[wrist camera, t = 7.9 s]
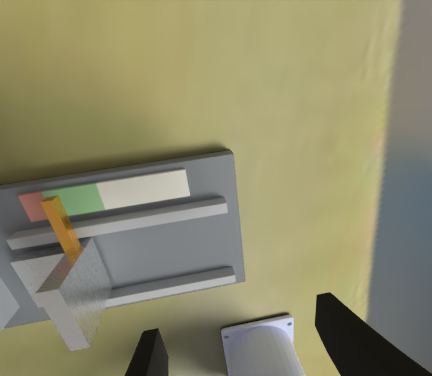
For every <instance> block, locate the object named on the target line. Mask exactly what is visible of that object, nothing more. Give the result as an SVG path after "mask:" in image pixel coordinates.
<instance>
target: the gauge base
mask: <svg viewBox="0 0 432 376" xmlns="http://www.w3.org/2000/svg"><path fill="white" fill-rule="evenodd" d="M58 195H59V197H60V199H61V202H62V204H63V206H64V208H65V211H66V213H67V215H68V217H69V220H70V222H71V224H72V226H73V229H74V231H75V233H76V235H77V238H78V240H79V239H84V238H90V237H92V238H93V241H94V243H95V246H96V248H97V251H98V253H99V255H100V258H101V260H102V263H103V265H104V267H105V270H106V272H107V275H108V277H109V280H110V282H111V284H112V287H113V288H112V290H111V293H110V296H109V298H108V301H107V304H106V307H105V309H106V308H112V307H117V306H122V305H127V304H132V303H137V302H143V301H148V300H153V299H158V298H163V297H168V296H173V295H179V294H184V293H189V292H194V291H199V290H204V289H210V288H215V287H220V286H225V285H230V284H235V283H240V282H245V271H244V260H243V249H242V238H241V228H240V217H239V206H238V195H237V185H236V174H235V163H234V154H233V152H232V151H231V150H227V151H221V152H214V153H207V154H201V155H194V156H188V157H181V158H175V159H168V160H162V161H155V162H148V163H142V164H135V165H129V166H122V167H116V168H109V169H103V170H96V171H90V172H83V173H76V174H70V175H63V176H57V177H50V178H44V179H37V180H31V181H24V182H17V183H11V184H4V185H0V332H1V331H2V329H3V328H9V327H14V326H19V325H24V324H29V323H34V322H39V321H45V320H50V317H49V315H48V314H47V312H46V310H45V309H44V307H39V308H38V307H37V305H36V303H35V302H34V300H33V299H32V297H31V295H30V294H29V292H28V291H27V289H26V287H25V286H24V284H23V283H22V281H21V279H20V278H19V276H18V275H17V273H16V271H15V270H14V268H13V267H12V265H11V263H10V262H11V261H12V260H13V259H14V258H16V257H17V256H18V255H19V254H20V253H24V252H30V251H36V250H42V249H47V248H53V247H59V246H61V244H60V242H59V240H58V238H57V236H56V234H55V232H54V230H53V227H52V225H51V223H50V221H49V219H48V217H47V215H46V213H45V211H44V209H43V207H42V205H41V203H40V202H41V201H43V200H44V199H45V198H47V197H51V196H58Z"/></svg>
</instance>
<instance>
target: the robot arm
mask: <svg viewBox="0 0 432 376" xmlns="http://www.w3.org/2000/svg"><path fill="white" fill-rule="evenodd" d="M315 327H316V329H317V331H318V333H319V336H320V338H321V340H322V342H323V344H324V346H325V348H326V351H327V352H328V354H329V356H330V358H331V359H332V361H333V363H334V365H335V366H336V368H337V370H338V372H339V373H340V375H341V376H432V373H430V372H429V371H427V370H426V369H425V368H423V367H422V366H420V365H419V364H418V363H416V362H415V361H414V360H412V359H411V358H409V357H408V356H407V355H406V354H404V353H403V352H401V351H400V350H399V349H398V348H396V347H395V346H394V345H392V344H391V343H390V342H389V341H387V340H386V339H385V338H383V337H382V336H381V335H380V334H379V333H377V332H376V331H375V330H374V329H372V328H371V327H370V326H369V325H368V324H366V323H365V322H364V321H363V320H362V319H360V318H359V317H358V316H357V315H356V314H354V313H353V312H352V311H351V310H350V309H349V308H348V307H346V306H345V305H344V304H343V303H342V302H341V301H339V300H338V299H337V298H336V297H335V296H334V295H333V294H331V293H330V292H329V293H324V294H319V295H317V301H316V315H315ZM293 330H294V319H293V317H292V315H285V316H280V317H275V318H270V319H265V320H260V321H256V322H251V323H246V324H241V325H236V326H232V327H227V328H223V329H222V330H221V336H222V342H223V348H224V353H225V359H226V365H227V371H228V376H306V375H305V372H304V370H303V368H302V365H301V363H300V361H299V358H298V356H297V354H296V351H295V349H294V347H293ZM125 376H168V355H167V352H166V349H165V346H164V343H163V341H162V338H161V335H160V332H159V329H158V328H157V329H152V330H147V331H144V332H143V333H142V335H141V338H140V340H139V343H138V345H137V348H136V350H135V353H134V355H133V358H132V360H131V362H130V365H129V367H128V369H127V371H126V374H125Z"/></svg>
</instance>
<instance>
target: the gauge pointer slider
mask: <svg viewBox="0 0 432 376" xmlns="http://www.w3.org/2000/svg"><path fill="white" fill-rule="evenodd" d="M40 203H41V205H42V207H43V209H44V211H45V213H46V215H47V217H48V219H49V221H50V223H51V225H52V227H53V230H54V232H55V234H56V236H57V238H58V240H59V242H60V244H61V246H59V247H53V248H47V249H42V250H36V251H30V252H24V253H20V254H19V255H18V256H17V257H16V258H14V259H13V260H12V261H11V262H10V263H11V265H12V267H13V268H14V270H15V271H16V273H17V275H18V276H19V278H20V279H21V281H22V283H23V284H24V286H25V287H26V289H27V291H28V292H29V294H30V295H31V297H32V299H33V300H34V302H35V303H36V305H37V307H38V308H39V307H44V309H45V310H46V312H47V314H48V315H49V317H50V319H51V320H52V322H53V323H54V325H55V327H56V328H57V330H58V332H59V333H60V335H61V337H62V338H63V340H64V341H65V343H66V345H67V346H68V348H69V350H70V351H75V350H80V349H85V348H90V347H91V344H92V341H93V339H94V336H95V333H96V331H97V328H98V325H99V323H100V320H101V317H102V315H103V312H104V309H105V307H106V304H107V301H108V298H109V296H110V293H111V290H112V288H113V287H112V284H111V282H110V280H109V277H108V275H107V272H106V270H105V267H104V265H103V263H102V260H101V258H100V255H99V253H98V251H97V248H96V246H95V243H94V241H93V238H92V237H90V238H84V239H79V240H78V238H77V235H76V233H75V231H74V229H73V226H72V224H71V222H70V220H69V217H68V215H67V213H66V211H65V208H64V206H63V204H62V202H61V199H60V197H59V195H58V196H51V197H47V198H45V199H44V200H43V201H41V202H40Z"/></svg>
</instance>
